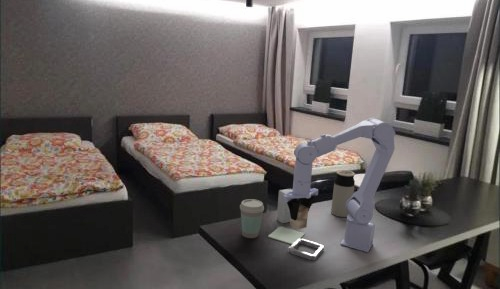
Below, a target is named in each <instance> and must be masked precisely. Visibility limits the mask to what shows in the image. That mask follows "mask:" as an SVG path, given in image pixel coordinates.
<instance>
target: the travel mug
mask: <svg viewBox="0 0 500 289" xmlns="http://www.w3.org/2000/svg"><path fill="white" fill-rule="evenodd" d="M355 176H356V173H355V172H354V171H351V170H348V169H338V170H336V177H334V182H333V183H334V184H333V193H332V201H331V208H330V209H331V210H330V212H331V214H333V215H334V216H336V217H339V218H347V216H348V211H347V210H346V203H347V201H348V200H349V199H350V198H351V197H352V195H353V193H354V192H355V191H354V190H355V184H356V181H355Z"/></svg>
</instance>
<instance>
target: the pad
mask: <svg viewBox="0 0 500 289" xmlns="http://www.w3.org/2000/svg"><path fill="white" fill-rule="evenodd" d="M305 235H306V233H305V232H301V231H298V230H295V229H291V228H288V227H284V226H281V225H280V226H278V227H277V228H276V229H275V230H273V231H272V232H271V233H270V234H268V236H267V238H269V239H273V240H276V241H279V242H282V243H285V244H288V245H290V246H291V245H292V244H293V243H294V242H295V241H296V240H297V239H298V238H300V239H303V237H304V236H305Z"/></svg>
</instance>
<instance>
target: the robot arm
mask: <svg viewBox="0 0 500 289" xmlns="http://www.w3.org/2000/svg"><path fill="white" fill-rule="evenodd" d="M395 135H396V131H395V129H394V128H393V126H392V125H391V123H389V122H386V121H383V120H380V119H378V118H376V117H370V118H368V119H365V120H362V121H360V122H358V123H357V124H354V125H353V126H351V127H348V128H346V129H344V130H341V131H340V132H338V133H336V134H334V135H331V134H329V133H327V134H325V133H322V134H320V136H319V137H318V138H315V139H313V140H309V139H308V140H307V141H306V143H305V142H301V143H299V144H297V145H296V147H295V149H294V150H293V154H294V157H295V161H294V162H295V163H294V168H293V170H294V171H293V182H292V191H291V192H289V193H287V194H284V195H283V196H282V201H284V202H287V204H288V207H289V210H290V216H291V219H293V220H296V219H297V215H298V210H299V207H300V205H301V204H302V205H304V206H306V207H308V208H309V210H308V212H309V211H310V209H311V207H312V206H313V204H314V203H315V201H316V198H315V197H313V196H318V195H319V189H318V188H315V187H313V188H311V183H312V172H313V163H314V162H315V160H316V159H317V158H319V157H322V156H324V155H327V154H329V153H331V152H333V151H335V150H336V149H337V147H338V145H342V144H345V143H347V142H350V141H352V140H356V139H358V138H365V139H368V140H371V141H372V143H373V146H374V147H375V150H374V153H373V154H372V158H371V159H370V161H369V164H368V167H367V168H366V171H365V174H364V176H363V178H362V181H361V183H360V185H359V187H358V190H357V191H354V192H353V195H352V197H351V198H350V199H349V200H348V201H347V203H346V210H347V211H348V216H347V217H346V221H345V222H346V223H345V229H344V230H345V231H344V238H343V239H342V240H341V242H340V245H341V246H344V247H348V248H352V249H355V250H358V251H362V252H365V253H368V252H369V251H370V249H371V248H372V246H373V244H374V235H375V228H376V227H375V226H376V224H375V223H372V222H371V220H372V219H373V215H374V212H373V211H374V209H375V202H374V197H375V195H376V193H377V190H378V188H379V186H380V183H381V182H382V178H383V177H384V174H385V172H386V169H387V168H388V165H389V164H390V161H391V158H392V156H393V154H394V153H395V150H396V149H395ZM298 199H299V200H300V201H299V200H298Z"/></svg>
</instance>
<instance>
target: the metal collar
mask: <svg viewBox="0 0 500 289" xmlns="http://www.w3.org/2000/svg"><path fill="white" fill-rule="evenodd" d="M300 245H304V246H306V247H310V248H313V249H317V250H315V252H314V253H313V254H312V253H309V252H306V251H303V250H300V249H297V248H298V247H299V246H300ZM324 250H325V246H324V245H323V244H322V243H320V242H319V243H318V242H315V241H311V240H308V239H304V238H301V239H300V238H298V239H297V240H296V241H295V242H294V243H293V244H292V245H291V244H290V246H289V247H288V253H290V254H291V255H295V256H297V257H301V258H303V259H307V260H309V261H312V260H313V261H316V260H317V259H318V257H319V256H320V255H321V254H322V253H323V252H324Z"/></svg>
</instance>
